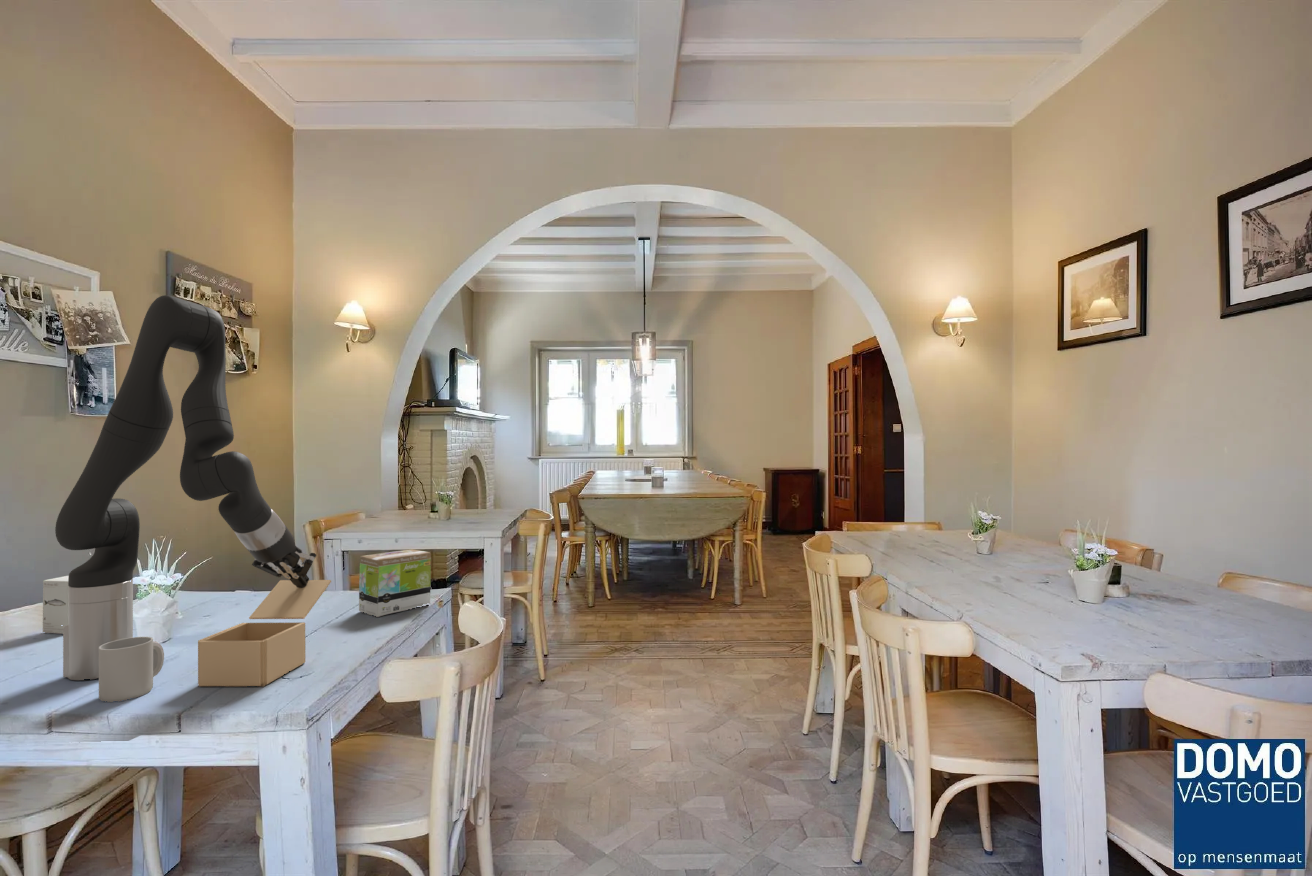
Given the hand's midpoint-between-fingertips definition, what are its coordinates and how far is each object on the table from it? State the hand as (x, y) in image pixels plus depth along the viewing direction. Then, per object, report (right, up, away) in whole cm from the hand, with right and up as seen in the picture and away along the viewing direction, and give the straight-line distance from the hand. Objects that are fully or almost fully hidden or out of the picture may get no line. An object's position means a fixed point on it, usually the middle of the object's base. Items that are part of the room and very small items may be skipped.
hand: (303, 584), depth 130 cm
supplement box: (-66, -15, +17) cm, 69 cm away
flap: (-1, -5, -9) cm, 10 cm away
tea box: (+6, -15, +32) cm, 36 cm away
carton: (-1, -14, -15) cm, 20 cm away
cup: (-17, -14, -22) cm, 31 cm away
